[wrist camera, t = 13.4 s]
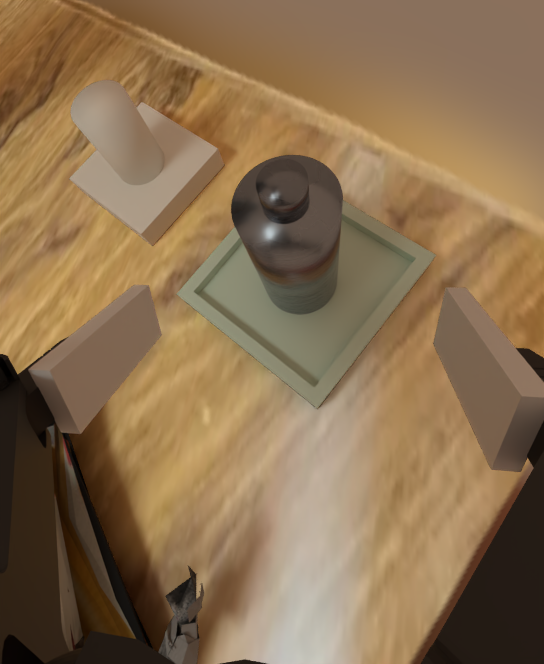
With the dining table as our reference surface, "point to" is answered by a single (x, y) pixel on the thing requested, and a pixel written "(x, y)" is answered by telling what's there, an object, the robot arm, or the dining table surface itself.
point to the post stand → (139, 160)
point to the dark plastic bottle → (291, 229)
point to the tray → (317, 327)
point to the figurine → (105, 571)
